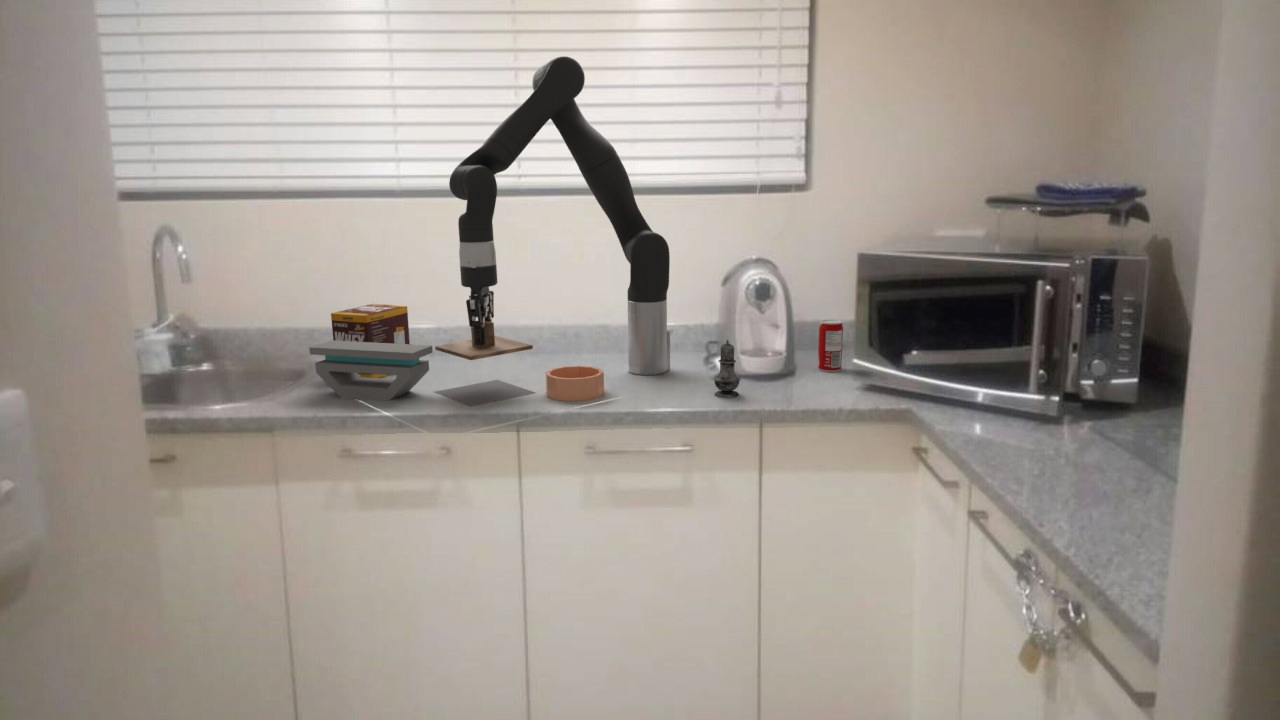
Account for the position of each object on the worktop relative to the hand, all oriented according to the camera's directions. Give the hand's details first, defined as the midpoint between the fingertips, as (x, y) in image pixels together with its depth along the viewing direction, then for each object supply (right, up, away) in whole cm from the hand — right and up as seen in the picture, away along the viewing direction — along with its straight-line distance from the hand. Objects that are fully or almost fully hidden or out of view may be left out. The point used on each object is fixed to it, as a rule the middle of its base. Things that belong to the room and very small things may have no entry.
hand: (483, 342), depth 183 cm
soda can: (+79, -6, +21) cm, 82 cm away
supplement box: (-31, -7, +24) cm, 40 cm away
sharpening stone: (-24, -12, +3) cm, 27 cm away
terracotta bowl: (+20, -11, +1) cm, 23 cm away
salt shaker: (+52, -11, 0) cm, 53 cm away
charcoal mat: (0, -11, +3) cm, 11 cm away
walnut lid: (0, -2, 0) cm, 2 cm away
